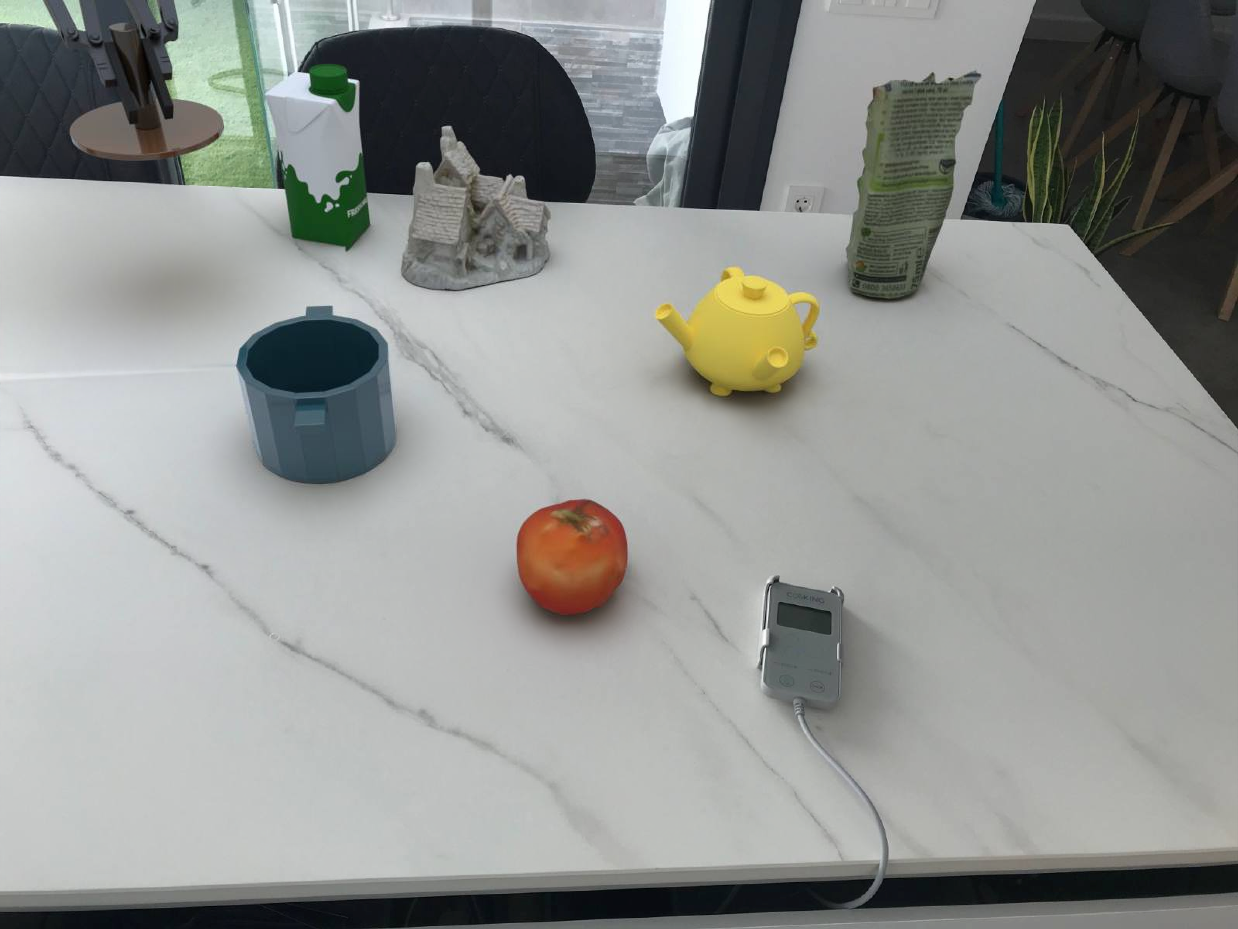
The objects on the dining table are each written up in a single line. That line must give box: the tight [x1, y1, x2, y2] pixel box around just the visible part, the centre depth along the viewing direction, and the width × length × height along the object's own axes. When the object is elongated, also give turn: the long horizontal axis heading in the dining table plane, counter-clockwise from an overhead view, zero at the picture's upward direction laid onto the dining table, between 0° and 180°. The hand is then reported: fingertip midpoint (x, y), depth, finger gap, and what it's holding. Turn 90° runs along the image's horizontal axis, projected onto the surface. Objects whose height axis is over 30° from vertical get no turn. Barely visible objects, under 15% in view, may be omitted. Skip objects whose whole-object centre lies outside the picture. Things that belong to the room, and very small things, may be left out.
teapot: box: [654, 266, 820, 397], centre depth 100 cm, size 14×14×11 cm
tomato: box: [516, 498, 629, 616], centre depth 77 cm, size 9×9×8 cm
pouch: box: [845, 69, 983, 300], centre depth 113 cm, size 11×12×25 cm
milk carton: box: [264, 63, 371, 251], centre depth 114 cm, size 9×9×20 cm
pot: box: [235, 305, 397, 484], centre depth 88 cm, size 13×18×10 cm
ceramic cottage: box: [400, 125, 552, 291], centre depth 113 cm, size 16×16×15 cm
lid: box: [69, 22, 225, 162], centre depth 91 cm, size 14×14×10 cm
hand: (151, 114), depth 90 cm, fingers closed on lid, 2 cm apart
